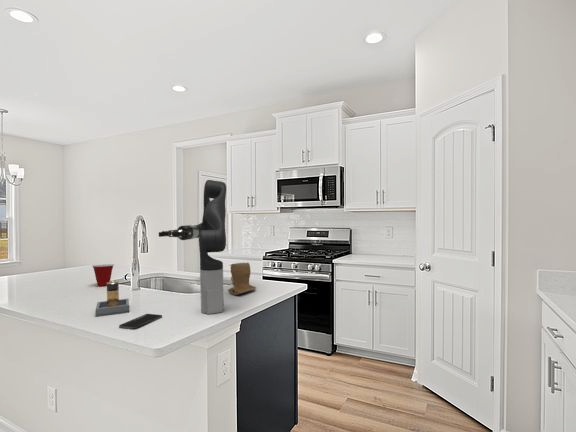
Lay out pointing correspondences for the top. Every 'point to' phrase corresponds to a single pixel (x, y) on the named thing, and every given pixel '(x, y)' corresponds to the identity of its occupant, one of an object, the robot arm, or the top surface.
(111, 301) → the battery cell
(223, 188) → the robot arm
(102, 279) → the plastic cup
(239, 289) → the brown boot
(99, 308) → the tray
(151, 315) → the phone
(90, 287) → the top surface
